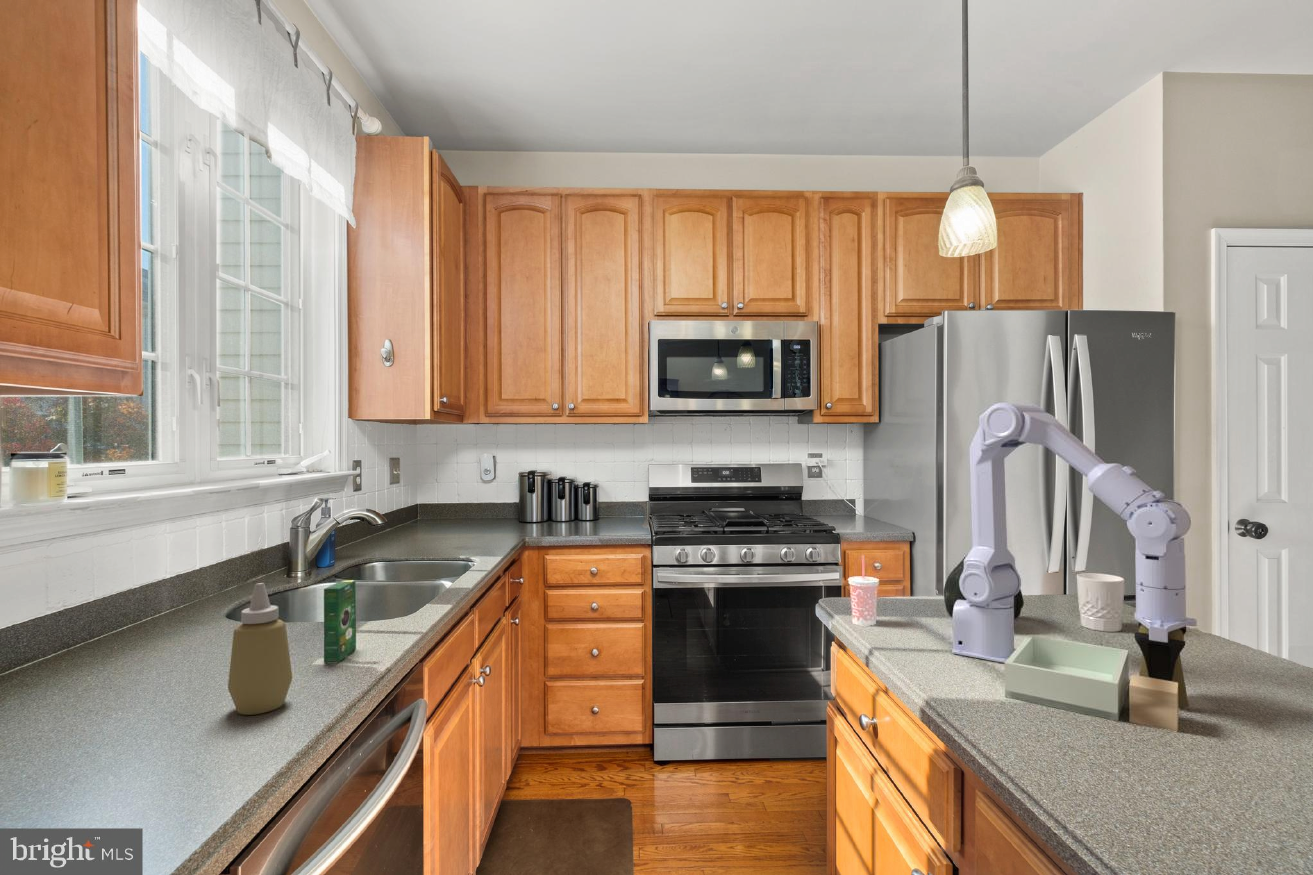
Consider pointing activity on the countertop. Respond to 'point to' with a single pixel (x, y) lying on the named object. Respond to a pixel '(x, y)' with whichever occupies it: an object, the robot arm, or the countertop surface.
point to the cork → (1178, 669)
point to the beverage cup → (863, 598)
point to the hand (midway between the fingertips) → (1161, 679)
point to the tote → (1069, 676)
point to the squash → (954, 594)
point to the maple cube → (1153, 702)
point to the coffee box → (339, 621)
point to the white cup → (1100, 601)
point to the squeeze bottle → (259, 658)
